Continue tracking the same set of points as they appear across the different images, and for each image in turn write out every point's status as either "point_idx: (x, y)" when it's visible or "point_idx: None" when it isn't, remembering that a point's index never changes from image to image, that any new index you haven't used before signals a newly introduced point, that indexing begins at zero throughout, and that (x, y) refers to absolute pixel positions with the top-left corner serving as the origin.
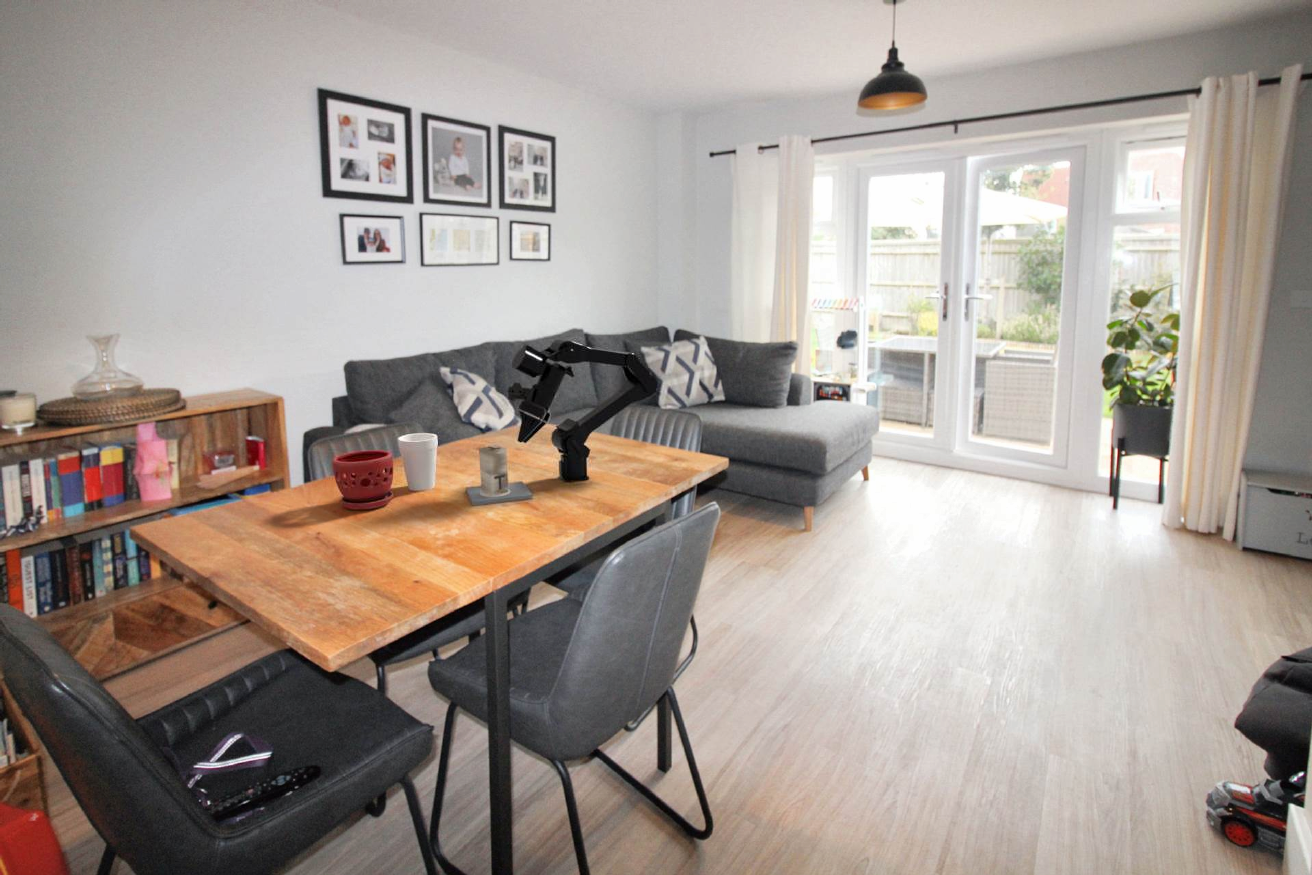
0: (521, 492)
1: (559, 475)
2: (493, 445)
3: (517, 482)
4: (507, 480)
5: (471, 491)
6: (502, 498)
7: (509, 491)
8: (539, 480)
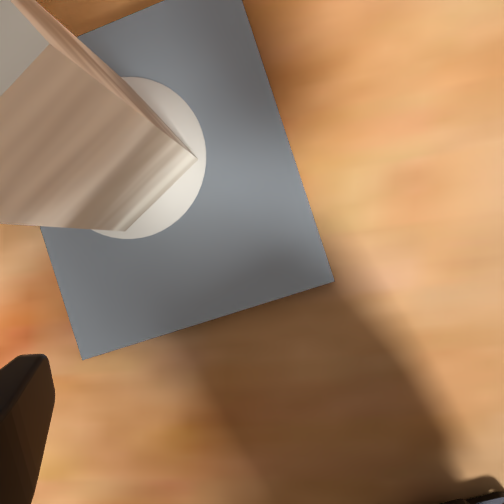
0: (121, 301)
1: (455, 500)
2: (29, 26)
3: (309, 257)
4: (91, 227)
5: (155, 23)
6: None
7: (134, 235)
8: (420, 371)
